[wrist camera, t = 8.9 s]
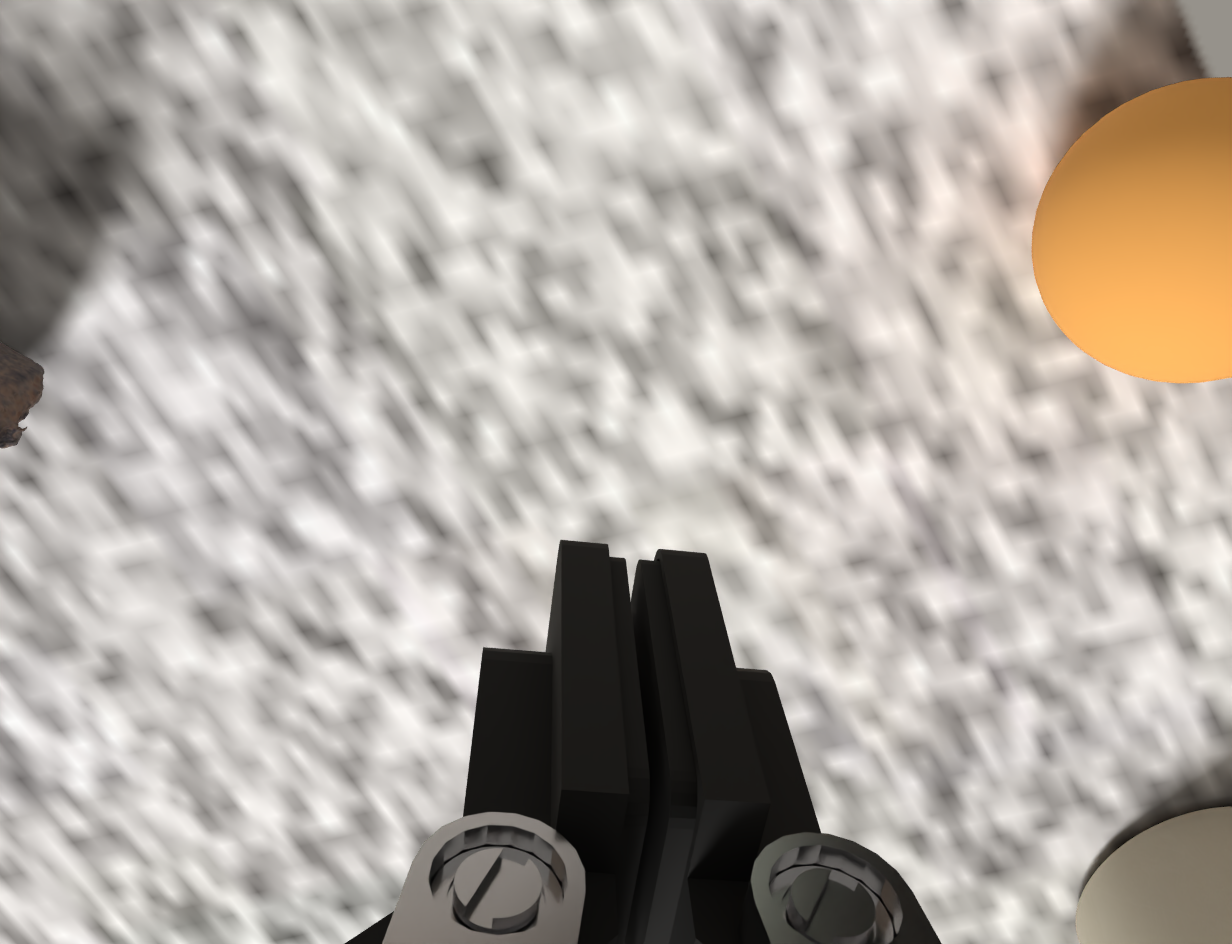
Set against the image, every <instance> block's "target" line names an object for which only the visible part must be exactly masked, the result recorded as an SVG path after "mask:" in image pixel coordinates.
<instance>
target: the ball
mask: <svg viewBox="0 0 1232 944" xmlns="http://www.w3.org/2000/svg"><path fill="white" fill-rule="evenodd" d="M1032 261H1033V268H1034V275H1035V279H1036V283H1037V286H1038V289H1039V291H1040V294H1041V297H1042V300H1043V302H1044V304H1045V306H1046V308H1047V310H1048V312H1049V313H1050V315H1051V317H1052V318H1053V320H1054V321H1055V322H1056V324H1057V325H1058V326H1059V328H1060V329H1061V330H1062V331H1063V333H1064V334H1065V335H1066V336H1067V337H1068V338H1069V339H1070V340H1071V341H1072V342H1073V343H1074V344H1075V345H1076V346H1077V347H1079V348H1080V349H1081V350H1082V351H1084V352H1085V353H1087V354H1088V355H1090V356H1091V357H1093V358H1094V359H1096V360H1098V361H1099V362H1101V363H1103V364H1104V365H1106V366H1108V367H1111V368H1113V369H1115V370H1118V371H1120V372H1123V373H1125V374H1128V375H1131V376H1135V377H1139V378H1144V379H1148V380H1153V381H1159V382H1170V383H1199V382H1207V381H1213V380H1219V379H1225V378H1231V377H1232V78H1231V77H1226V78H1225V77H1224V78H1201V79H1195V80H1189V81H1183V82H1178V83H1175V84H1171V85H1167V86H1164V87H1161V88H1158V89H1155V90H1151V91H1149V92H1147V93H1145V94H1143V95H1141V96H1138V97H1136V98H1134V99H1132V100H1130V101H1128V102H1126V103H1124V104H1122V105H1121V106H1119V107H1118V108H1116V109H1114V110H1113V111H1111V112H1110V113H1108V114H1106V115H1105V116H1104V117H1103V118H1101V119H1100V120H1099V121H1098V122H1097V123H1095V124H1094V125H1093V126H1092V127H1091V128H1089V129H1088V130H1087V131H1086V132H1085V133H1084V134H1083V135H1082V136H1081V137H1080V138H1079V139H1078V140H1077V141H1076V142H1075V143H1074V144H1073V145H1072V146H1071V147H1070V149H1069V150H1068V151H1067V153H1066V154H1065V156H1064V157H1063V158H1062V160H1061V161H1060V162H1059V164H1058V165H1057V167H1056V168H1055V170H1054V171H1053V173H1052V175H1051V177H1050V179H1049V181H1048V183H1047V184H1046V186H1045V189H1044V191H1043V194H1042V197H1041V200H1040V202H1039V205H1038V208H1037V211H1036V216H1035V221H1034V226H1033V232H1032Z"/></svg>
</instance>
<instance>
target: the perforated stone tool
mask: <svg viewBox="0 0 1232 944" xmlns="http://www.w3.org/2000/svg"><path fill="white" fill-rule="evenodd" d="M43 374H44V369H43V368H42V366H40V365H39V364H38V363H35V362H34V361H33V360H31V359H29V358H27V357H25V356H23V355H22V354H20V353H18V352H16V351H15V350H13V349H12V348H10V347H8V346H7V345H5V344H3V343H1V342H0V448H7V447H10V446H15V445H17V444H18V441H19V440H20V438H21V436H22V431H25V429H26V428H27V427H26V428H24V429H21V428H20V427H18V423H19V422H20V421H21V420H23V419H25V418H26V416H27V415H28V413H29V409H30V408H31V407H33V406H34V405H35V404H36V403H38V402H39V400H40V398H41V396H42V390H43V389H44V388H43Z"/></svg>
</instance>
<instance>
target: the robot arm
mask: <svg viewBox="0 0 1232 944" xmlns="http://www.w3.org/2000/svg"><path fill="white" fill-rule="evenodd" d="M345 944H941V942H940V940H939V938H938V936H937V935H936V933H935V931H934V929H933V928H932V926H931V924H930V922H929V920H928V919H927V917H926V915H925V913H924V911H923V910H922V908H921V906H920V904H919V903H918V901H917V899H916V897H915V895H914V894H913V892H912V890H911V889H910V888H909V886H908V885H907V884H906V882H905V881H904V880H903V878H902V877H901V876H900V874H899V873H898V872H897V870H895V869H894V868H893V867H892V866H891V865H889V864H888V863H887V862H886V861H885V860H883V859H882V858H881V857H880V856H879V855H878V854H876V853H874V852H872V851H870V850H869V849H867V848H865V847H863V846H861V845H859V844H857V843H856V842H854V841H851V840H847V839H844V838H841V837H837V836H834V835H831V834H823V833H821V831H820V828H819V824H818V821H817V818H816V815H815V811H814V808H813V805H812V801H811V798H810V795H809V792H808V788H807V785H806V782H805V779H804V775H803V772H802V769H801V766H800V762H799V759H798V756H797V753H796V749H795V746H794V743H793V739H792V736H791V733H790V730H789V726H788V723H787V720H786V717H785V713H784V710H783V707H782V704H781V700H780V697H779V694H778V691H777V687H776V684H775V681H774V679H773V677H772V675H771V673H770V672H768V671H767V670H757V669H744V668H736V666H735V662H734V658H733V654H732V650H731V646H730V643H729V639H728V635H727V631H726V627H725V623H724V619H723V615H722V611H721V607H720V603H719V600H718V596H717V592H716V588H715V584H714V580H713V576H712V572H711V568H710V564H709V560H708V557H707V555H706V554H705V553H697V552H687V551H676V550H665V549H658V550H657V552H656V555H655V559H654V561H649V560H639V561H638V564H637V568H636V573H635V579H634V585H633V591H632V597H631V602H630V593H629V584H628V575H627V566H626V560H625V558H616V557H609V548H608V544H600V543H589V542H578V541H568V540H560V544H559V550H558V557H557V565H556V573H555V581H554V589H553V597H552V605H551V613H550V621H549V629H548V637H547V645H546V652H535V651H523V650H510V649H498V648H486V647H483V653H482V661H481V669H480V678H479V686H478V695H477V703H476V712H475V720H474V729H473V737H472V746H471V754H470V762H469V771H468V779H467V788H466V796H465V805H464V813H463V817H462V818H460V819H458V820H455V821H453V822H451V823H449V824H446V825H444V826H442V827H441V828H440V829H439V830H437V831H436V832H435V833H434V834H433V835H431V836H430V837H429V838H428V839H427V840H426V841H424V843H423V845H422V846H421V848H420V850H419V851H418V853H417V855H416V856H415V858H414V860H413V861H412V864H411V867H410V870H409V872H408V875H407V878H406V880H405V883H404V886H403V889H402V891H401V894H400V897H399V899H398V902H397V905H396V907H395V910H394V911H393V912H392V913H390V914H389V915H387V916H386V917H384V918H383V919H381V920H380V921H378V922H377V923H375V924H374V925H372V926H371V927H369V928H368V929H366V930H365V931H363V932H362V933H360V934H359V935H357V936H356V937H354V938H353V939H351V940H349V941H348V942H346V943H345Z"/></svg>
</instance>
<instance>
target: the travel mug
mask: <svg viewBox="0 0 1232 944" xmlns="http://www.w3.org/2000/svg"><path fill="white" fill-rule="evenodd" d="M1075 924H1076V932H1077V936H1078V940H1079V942H1080V944H1232V807H1218V808H1210V809H1204V810H1199V811H1195V812H1191V813H1187V814H1184V815H1181V816H1177V817H1174V818H1172V819H1169V820H1167V821H1164V822H1162V823H1160V824H1157V825H1155V826H1153V827H1151V828H1149V829H1147V830H1145V831H1144V832H1142V833H1140V834H1138V835H1137V836H1135V837H1134V838H1132V839H1130V840H1129V841H1128V842H1126V843H1125V844H1123V845H1122V846H1121V847H1119V848H1118V849H1117V850H1116V851H1115V852H1114V853H1112V854H1111V855H1110V856H1109V857H1108V858H1107V859H1106V860H1105V861H1104V862H1103V863H1102V864H1101V865H1100V867H1099V868H1098V869H1097V870H1096V871H1095V873H1094V874H1093V875H1092V877H1091V878H1090V880H1089V881H1088V883H1087V885H1086V886H1085V888H1084V890H1083V892H1082V895H1081V897H1080V900H1079V903H1078V906H1077V911H1076V923H1075Z"/></svg>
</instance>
